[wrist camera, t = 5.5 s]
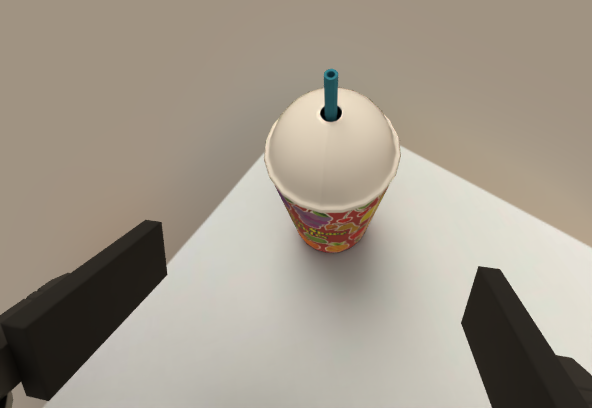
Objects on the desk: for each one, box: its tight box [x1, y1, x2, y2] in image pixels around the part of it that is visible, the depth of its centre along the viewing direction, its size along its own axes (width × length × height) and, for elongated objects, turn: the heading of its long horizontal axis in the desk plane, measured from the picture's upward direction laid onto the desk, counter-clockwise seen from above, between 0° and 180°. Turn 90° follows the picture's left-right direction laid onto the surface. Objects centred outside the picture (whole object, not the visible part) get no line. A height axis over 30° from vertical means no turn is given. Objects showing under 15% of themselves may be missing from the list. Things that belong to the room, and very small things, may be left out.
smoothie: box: [264, 69, 401, 253], centre depth 25 cm, size 8×8×20 cm
